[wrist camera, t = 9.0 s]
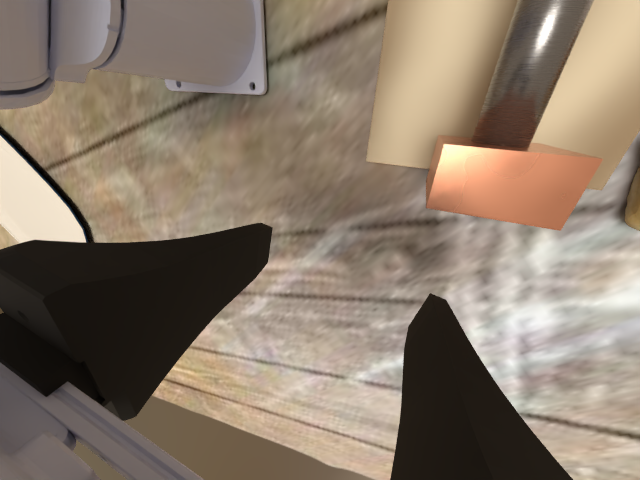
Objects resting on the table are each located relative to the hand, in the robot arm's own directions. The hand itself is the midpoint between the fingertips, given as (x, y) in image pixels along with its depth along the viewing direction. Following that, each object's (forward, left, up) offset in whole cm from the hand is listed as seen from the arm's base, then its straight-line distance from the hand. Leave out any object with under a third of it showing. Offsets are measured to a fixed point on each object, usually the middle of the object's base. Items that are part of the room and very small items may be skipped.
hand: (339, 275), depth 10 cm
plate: (-56, -11, -10) cm, 58 cm away
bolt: (+5, +8, -7) cm, 12 cm away
